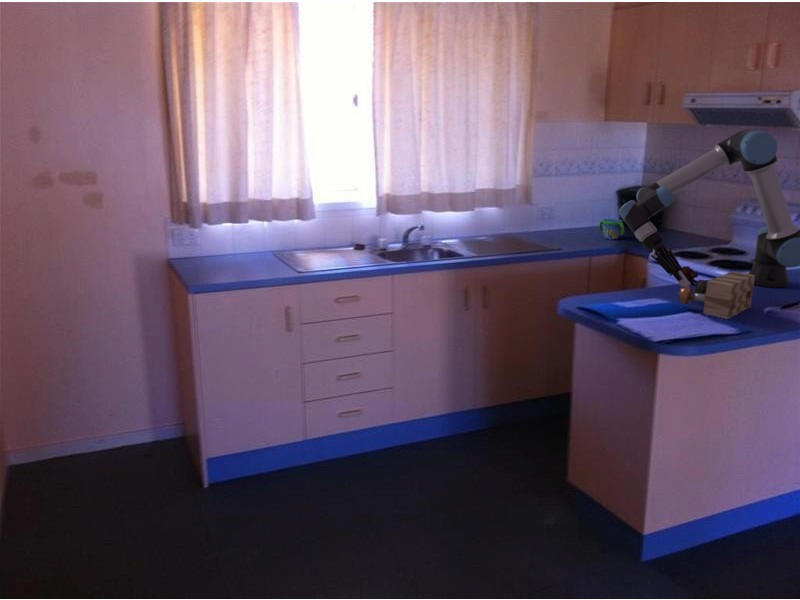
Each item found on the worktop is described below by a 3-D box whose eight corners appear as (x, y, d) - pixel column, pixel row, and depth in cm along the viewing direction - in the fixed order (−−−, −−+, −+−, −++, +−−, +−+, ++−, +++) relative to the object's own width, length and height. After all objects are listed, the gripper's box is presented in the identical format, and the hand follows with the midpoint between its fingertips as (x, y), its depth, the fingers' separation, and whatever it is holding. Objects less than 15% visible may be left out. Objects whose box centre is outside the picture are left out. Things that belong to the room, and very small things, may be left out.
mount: (726, 303, 261) (730, 271, 258) (750, 307, 255) (755, 275, 252) (701, 315, 246) (706, 281, 242) (726, 320, 240) (731, 285, 237)
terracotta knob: (685, 300, 256) (687, 284, 254) (714, 306, 249) (716, 289, 247) (677, 304, 252) (679, 287, 250) (707, 309, 245) (709, 292, 243)
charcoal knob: (701, 294, 266) (702, 278, 264) (730, 299, 259) (732, 283, 257) (694, 296, 261) (696, 280, 260) (723, 302, 254) (725, 286, 253)
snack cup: (628, 240, 383) (630, 221, 380) (613, 242, 378) (615, 223, 375) (607, 235, 396) (609, 217, 393) (593, 237, 391) (594, 218, 389)
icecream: (665, 264, 296) (689, 275, 282) (680, 258, 297) (705, 269, 284) (665, 279, 299) (690, 290, 285) (680, 273, 300) (705, 285, 287)
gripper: (649, 240, 280) (686, 289, 273) (633, 244, 271) (672, 295, 264) (664, 228, 275) (702, 278, 268) (648, 232, 266) (687, 284, 259)
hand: (687, 286), depth 266 cm, fingers closed
